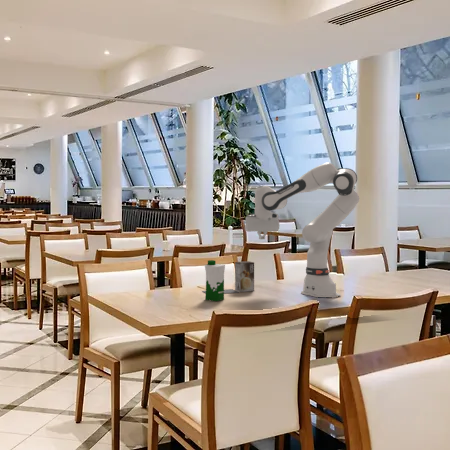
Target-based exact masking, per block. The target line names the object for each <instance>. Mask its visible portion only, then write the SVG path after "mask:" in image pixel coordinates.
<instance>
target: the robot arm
mask: <svg viewBox="0 0 450 450" xmlns="http://www.w3.org/2000/svg"><path fill="white" fill-rule="evenodd" d="M357 181H358V175H357V172H355V170H353V169H351V168H347V167H345V168H336V166H335V165H334V164H333V163H331V162H325V163H322V164H320V165H317V166H315V167H313V168H311V169H310V170H308V171H307V172H305V173H304V174H302V175H301V176H299V178H297V179H296V180H294V181H292V182H291V183H289V184H287V185H285V186H283V187H281V188H280V189H278V190H275V189H273V188H272V187H270V186H269V185H262V186H261V185H260V186H258V187H257V188H256V189H255V194H254V203H255V207H254V214H248V215H246V217H245V223H244V230H245V232H257V233H256V234H257V235H258V239H259V240H266V236H267V234H268V232H278V231H279V230H280V220H279V219H278V218H279V214H278V213H275V212H272V211H275V210H282V209H284V208H285V207H286V206H287V204H288V199H290V198H291V197H293V196H295V195H298V194H302V193H310V192H311V193H312V192H314V191H317V190H319V189H321V188H323V187H325V186H326V185H329V184H333V185H332V186H333V187H334V189H335V190H336V192H337V194H338V195H337V196H336V197H335V198H334V199H333V200H332V201H331V203H330V204H328V206H327V207H326V208H325V209H324V210H323V211H322V212H321V213H319V214H318V215H317V216H316V217H314V218H313V219H312V220H311V221H310V222H309V223H308V224H307V225H305V226H304V227H303V228H302V230H301V234H302V236H301V237H302V238H303V240H304V241H305V242H308V243H310V245H309V248H308V250H307V253H306V254H307V255H306V268H305V277H304V279H303V288H302V291H301V292H300V293H301V294H302V295H306V296H309V297H314V298H318V297H332V298H337V297H336V296H340V297H341V293H338V292H337V284H336V283H335V281H333V279H332V278H331V277H330V269H329V268H328V253H329V248H330V242H331V238H332V236H333V234H334V229H335V228H336V227H337V226H339V225H340V224H341V223H342V222H343V221H344V220H345V219H346V218H347V217H348V216H349V215H350V214H351V212H352V211H354V209H355V208H356V207H357V205H358V203H359V202H360V196H359V194H358V192H357V191H356V190H355V188H354V187H355V185H356V184H357ZM262 233H263V234H262Z"/></svg>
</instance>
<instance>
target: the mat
mask: <svg viewBox="0 0 450 450" xmlns="http://www.w3.org/2000/svg"><path fill="white" fill-rule="evenodd" d="M201 292H202V293H204V294H206V290H202V291H201ZM239 293H240V292H239V291H236V290H235V289H232V288H228V289H227V288H226V289H224V295H225V294H239Z"/></svg>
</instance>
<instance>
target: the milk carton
mask: <svg viewBox="0 0 450 450" xmlns="http://www.w3.org/2000/svg"><path fill="white" fill-rule="evenodd" d="M225 269H226V264H218V263H216V260H215V259H214V260H213V259H211V260H210V259H209V260H207V264H205V265H204V270H205V291H206V293H205V301H209V300H211V302H220V301H223V300H225V294H224V290H225Z"/></svg>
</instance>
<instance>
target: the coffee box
mask: <svg viewBox="0 0 450 450" xmlns="http://www.w3.org/2000/svg"><path fill="white" fill-rule="evenodd" d="M234 290H235V291H238V292H239V293H244V292H253V291H254V292H255V262H254V261H248V260H247V261H235V262H234Z"/></svg>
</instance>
